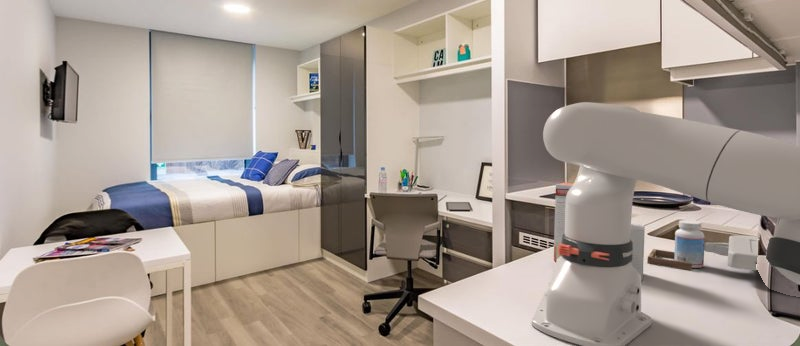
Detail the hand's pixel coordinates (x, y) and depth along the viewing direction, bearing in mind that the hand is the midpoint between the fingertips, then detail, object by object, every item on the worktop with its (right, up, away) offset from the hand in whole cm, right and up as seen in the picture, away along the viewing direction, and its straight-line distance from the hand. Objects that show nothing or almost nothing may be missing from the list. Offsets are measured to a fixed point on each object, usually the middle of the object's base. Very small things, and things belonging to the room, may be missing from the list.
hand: (704, 246), depth 99 cm
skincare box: (-22, -6, -6) cm, 23 cm away
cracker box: (-29, -6, +2) cm, 30 cm away
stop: (-5, -5, +4) cm, 8 cm away
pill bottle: (-3, -5, +2) cm, 6 cm away
